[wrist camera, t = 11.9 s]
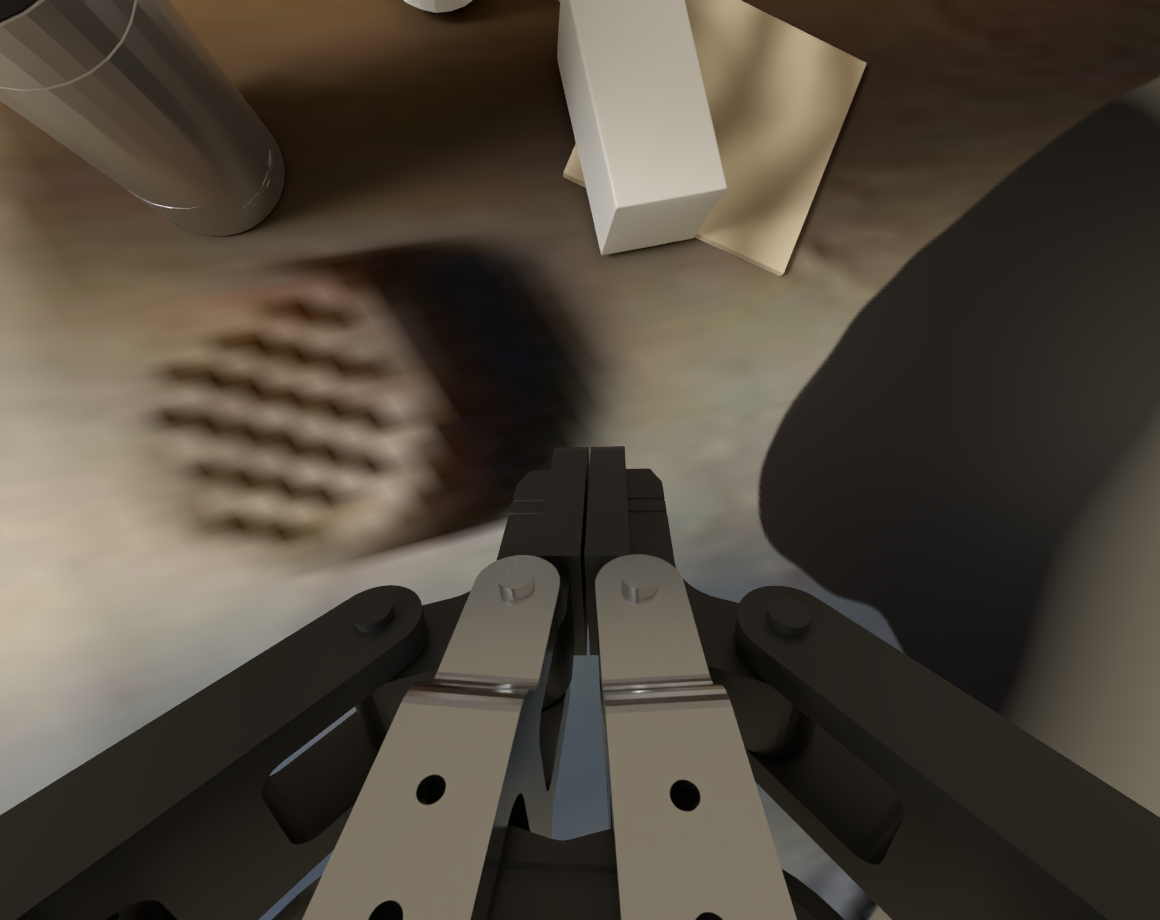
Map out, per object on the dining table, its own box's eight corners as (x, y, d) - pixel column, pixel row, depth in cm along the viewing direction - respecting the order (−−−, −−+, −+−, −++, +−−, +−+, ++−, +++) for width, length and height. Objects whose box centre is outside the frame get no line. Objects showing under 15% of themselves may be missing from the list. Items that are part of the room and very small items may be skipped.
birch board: (562, 177, 39) (563, 172, 39) (652, -35, 40) (654, -43, 40) (780, 276, 41) (783, 273, 40) (862, 68, 42) (866, 63, 41)
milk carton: (693, 241, 39) (637, -8, 39) (729, 190, 32) (660, -113, 32) (601, 258, 39) (544, 5, 39) (616, 210, 32) (546, -99, 32)
